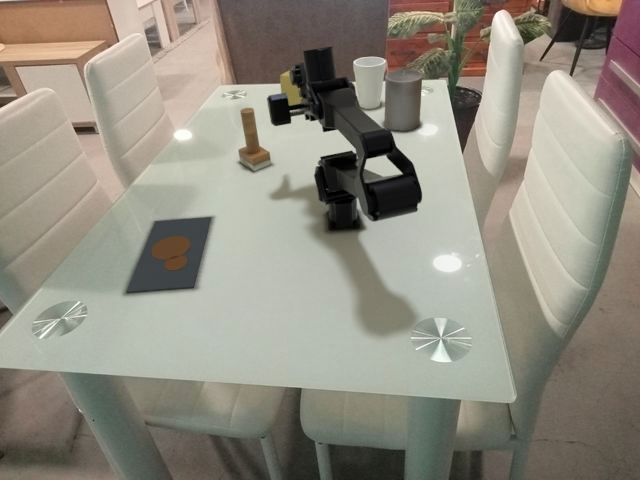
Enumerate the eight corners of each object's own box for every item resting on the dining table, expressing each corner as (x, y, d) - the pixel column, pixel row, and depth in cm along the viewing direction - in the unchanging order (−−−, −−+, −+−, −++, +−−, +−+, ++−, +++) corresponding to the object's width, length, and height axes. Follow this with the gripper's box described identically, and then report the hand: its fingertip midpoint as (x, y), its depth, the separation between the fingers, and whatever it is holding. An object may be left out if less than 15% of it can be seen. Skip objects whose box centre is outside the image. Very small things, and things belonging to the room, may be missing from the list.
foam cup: (350, 102, 150) (348, 59, 142) (377, 97, 151) (377, 54, 144) (361, 112, 142) (360, 68, 134) (389, 107, 144) (390, 63, 136)
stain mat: (193, 287, 85) (193, 286, 85) (126, 292, 85) (125, 291, 85) (211, 217, 102) (210, 216, 102) (155, 222, 102) (155, 220, 102)
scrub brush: (271, 164, 120) (263, 111, 111) (254, 171, 118) (245, 117, 109) (256, 155, 124) (248, 103, 116) (240, 161, 122) (230, 109, 114)
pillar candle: (409, 114, 139) (412, 62, 130) (425, 127, 131) (429, 72, 122) (378, 121, 137) (379, 67, 128) (393, 134, 129) (394, 78, 120)
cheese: (327, 99, 153) (325, 67, 147) (308, 111, 146) (306, 78, 140) (300, 94, 158) (297, 63, 152) (281, 106, 151) (277, 74, 145)
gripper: (361, 54, 93) (338, 59, 108) (267, 69, 90) (256, 72, 104) (367, 112, 97) (344, 109, 111) (278, 129, 93) (266, 123, 108)
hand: (304, 102), depth 109 cm, fingers open, 9 cm apart
